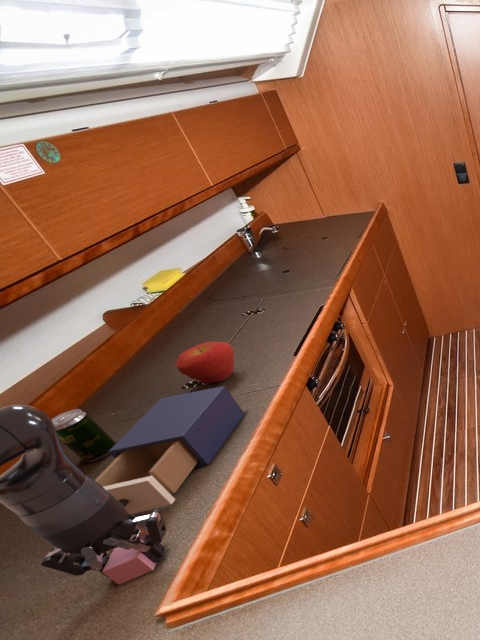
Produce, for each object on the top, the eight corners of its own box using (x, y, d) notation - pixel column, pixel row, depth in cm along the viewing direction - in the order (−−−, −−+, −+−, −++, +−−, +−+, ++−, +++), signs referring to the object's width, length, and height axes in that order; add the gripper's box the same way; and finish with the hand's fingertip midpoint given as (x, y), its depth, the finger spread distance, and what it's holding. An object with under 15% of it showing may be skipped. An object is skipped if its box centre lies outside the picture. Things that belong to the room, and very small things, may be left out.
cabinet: (208, 464, 92) (182, 435, 87) (138, 480, 89) (107, 451, 84) (244, 413, 105) (224, 385, 101) (185, 425, 102) (161, 397, 98)
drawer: (167, 510, 82) (143, 486, 78) (94, 527, 79) (65, 504, 75) (214, 447, 95) (194, 424, 91) (153, 460, 92) (130, 437, 89)
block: (118, 584, 71) (101, 572, 69) (130, 561, 75) (114, 548, 72) (153, 570, 73) (137, 557, 71) (162, 548, 76) (147, 535, 74)
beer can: (102, 444, 98) (66, 409, 92) (125, 442, 98) (90, 407, 92) (76, 463, 93) (36, 428, 87) (100, 462, 94) (62, 426, 88)
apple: (188, 398, 111) (161, 364, 105) (202, 375, 119) (178, 342, 113) (240, 383, 115) (217, 350, 109) (250, 362, 124) (229, 330, 118)
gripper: (144, 471, 71) (199, 526, 80) (21, 513, 65) (94, 568, 73) (124, 507, 66) (186, 562, 74) (-13, 557, 59) (71, 610, 68)
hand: (140, 565), depth 74 cm, fingers closed on block, 4 cm apart
